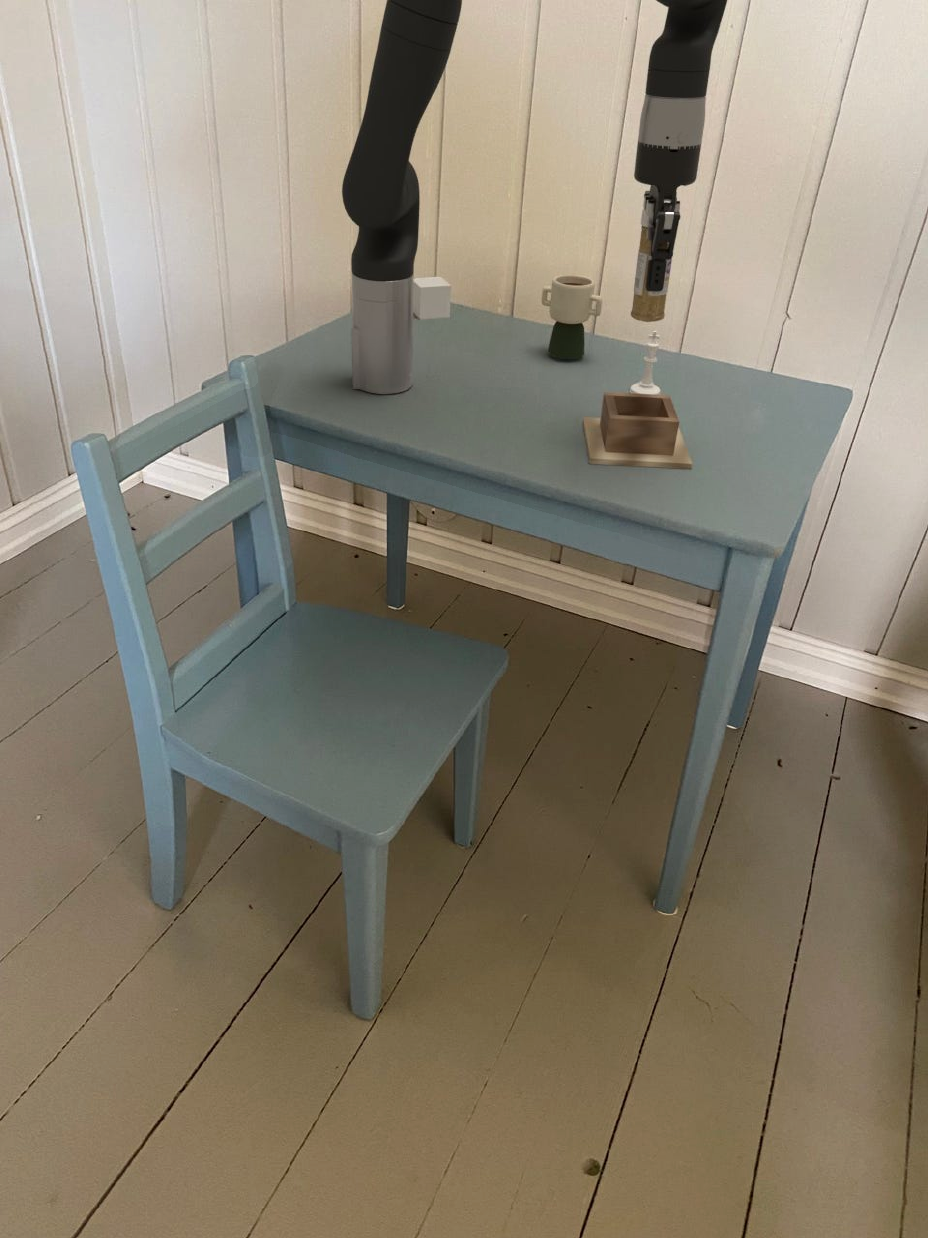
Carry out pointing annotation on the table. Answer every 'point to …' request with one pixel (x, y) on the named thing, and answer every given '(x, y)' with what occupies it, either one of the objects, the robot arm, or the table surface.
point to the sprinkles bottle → (645, 302)
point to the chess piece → (648, 370)
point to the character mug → (570, 313)
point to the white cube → (431, 298)
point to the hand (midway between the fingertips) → (651, 284)
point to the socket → (636, 432)
